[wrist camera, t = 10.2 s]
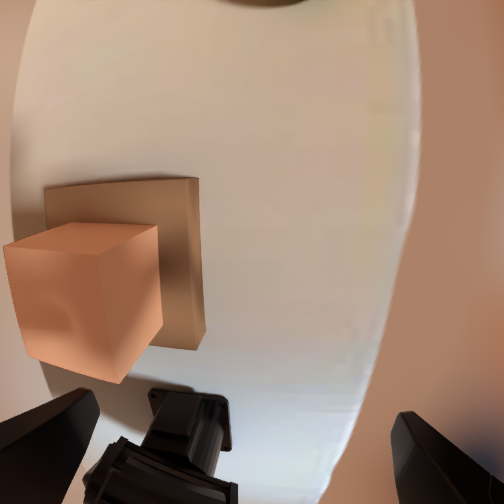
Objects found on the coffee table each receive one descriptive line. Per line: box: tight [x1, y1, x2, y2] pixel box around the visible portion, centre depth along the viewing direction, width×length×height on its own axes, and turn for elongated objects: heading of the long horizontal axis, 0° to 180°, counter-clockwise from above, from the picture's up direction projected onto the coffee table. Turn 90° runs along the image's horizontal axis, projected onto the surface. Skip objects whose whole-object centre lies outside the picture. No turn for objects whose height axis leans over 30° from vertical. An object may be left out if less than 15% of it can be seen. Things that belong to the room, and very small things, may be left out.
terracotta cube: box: [3, 222, 163, 384], centre depth 15 cm, size 6×6×6 cm
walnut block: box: [44, 178, 206, 351], centre depth 19 cm, size 10×10×3 cm
